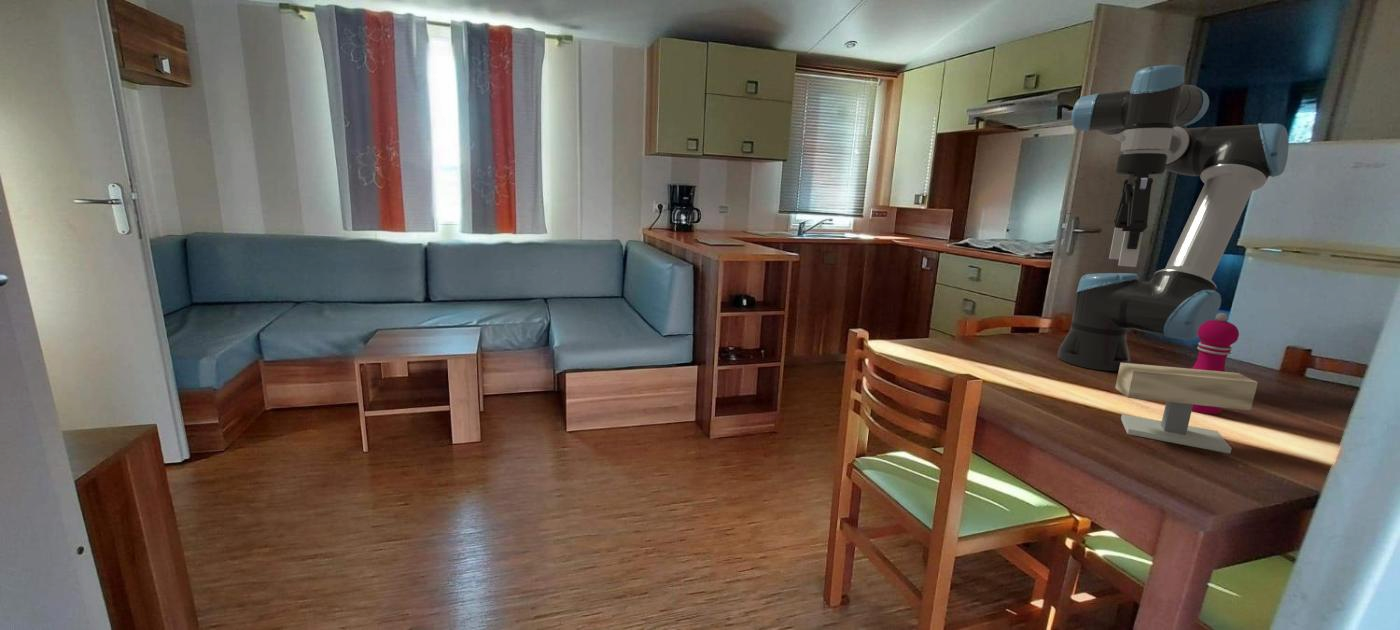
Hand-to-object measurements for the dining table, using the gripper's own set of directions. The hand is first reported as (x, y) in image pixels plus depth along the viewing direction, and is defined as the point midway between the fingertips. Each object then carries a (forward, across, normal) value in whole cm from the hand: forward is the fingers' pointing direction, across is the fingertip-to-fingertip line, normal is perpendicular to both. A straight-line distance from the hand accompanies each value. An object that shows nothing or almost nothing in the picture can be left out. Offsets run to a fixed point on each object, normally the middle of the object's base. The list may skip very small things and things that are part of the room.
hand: (1121, 262), depth 112 cm
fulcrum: (+29, +16, +10) cm, 34 cm away
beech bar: (+22, +16, +10) cm, 29 cm away
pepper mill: (+29, -4, +18) cm, 34 cm away
